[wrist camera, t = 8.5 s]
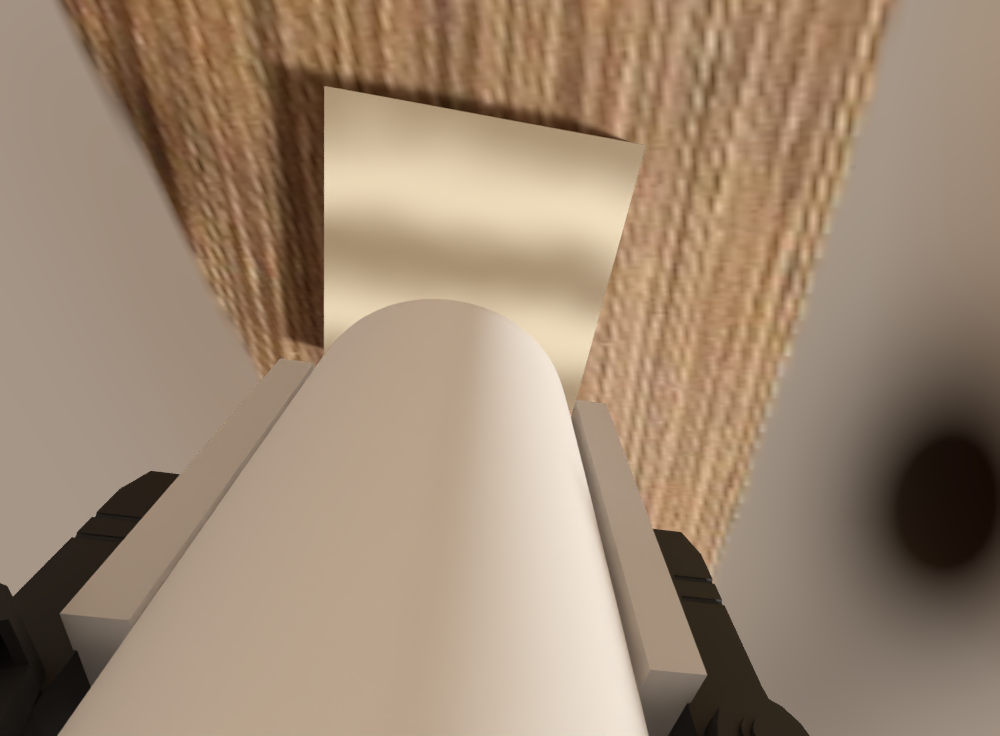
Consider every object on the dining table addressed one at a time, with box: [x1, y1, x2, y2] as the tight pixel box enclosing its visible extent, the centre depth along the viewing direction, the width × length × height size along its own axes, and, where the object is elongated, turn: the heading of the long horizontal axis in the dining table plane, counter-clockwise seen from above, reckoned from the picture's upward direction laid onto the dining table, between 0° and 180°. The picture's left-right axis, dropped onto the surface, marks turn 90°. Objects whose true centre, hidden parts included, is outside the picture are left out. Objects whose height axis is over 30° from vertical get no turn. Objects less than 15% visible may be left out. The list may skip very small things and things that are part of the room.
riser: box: [324, 86, 646, 410], centre depth 26 cm, size 14×14×3 cm
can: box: [58, 299, 649, 736], centre depth 8 cm, size 6×6×12 cm
